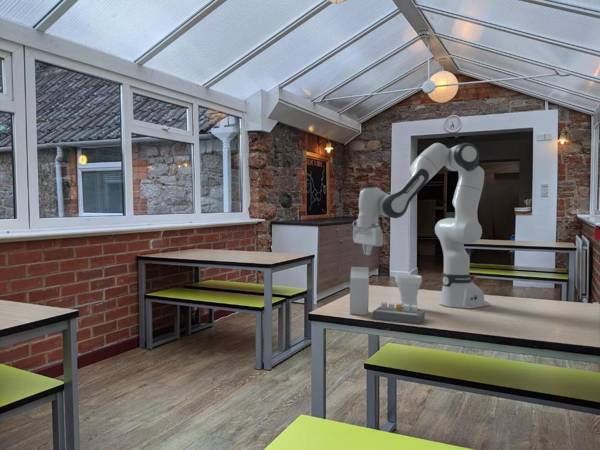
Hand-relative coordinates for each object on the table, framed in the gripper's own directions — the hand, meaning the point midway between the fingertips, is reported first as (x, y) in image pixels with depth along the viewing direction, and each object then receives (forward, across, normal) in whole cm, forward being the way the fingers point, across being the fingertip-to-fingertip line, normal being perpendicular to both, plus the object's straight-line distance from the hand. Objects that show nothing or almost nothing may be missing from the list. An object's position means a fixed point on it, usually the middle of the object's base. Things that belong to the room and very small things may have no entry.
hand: (367, 254), depth 215 cm
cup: (+22, -12, -14) cm, 29 cm away
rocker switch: (+19, -26, 0) cm, 32 cm away
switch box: (+22, -26, 0) cm, 35 cm away
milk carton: (+23, -12, +10) cm, 28 cm away
